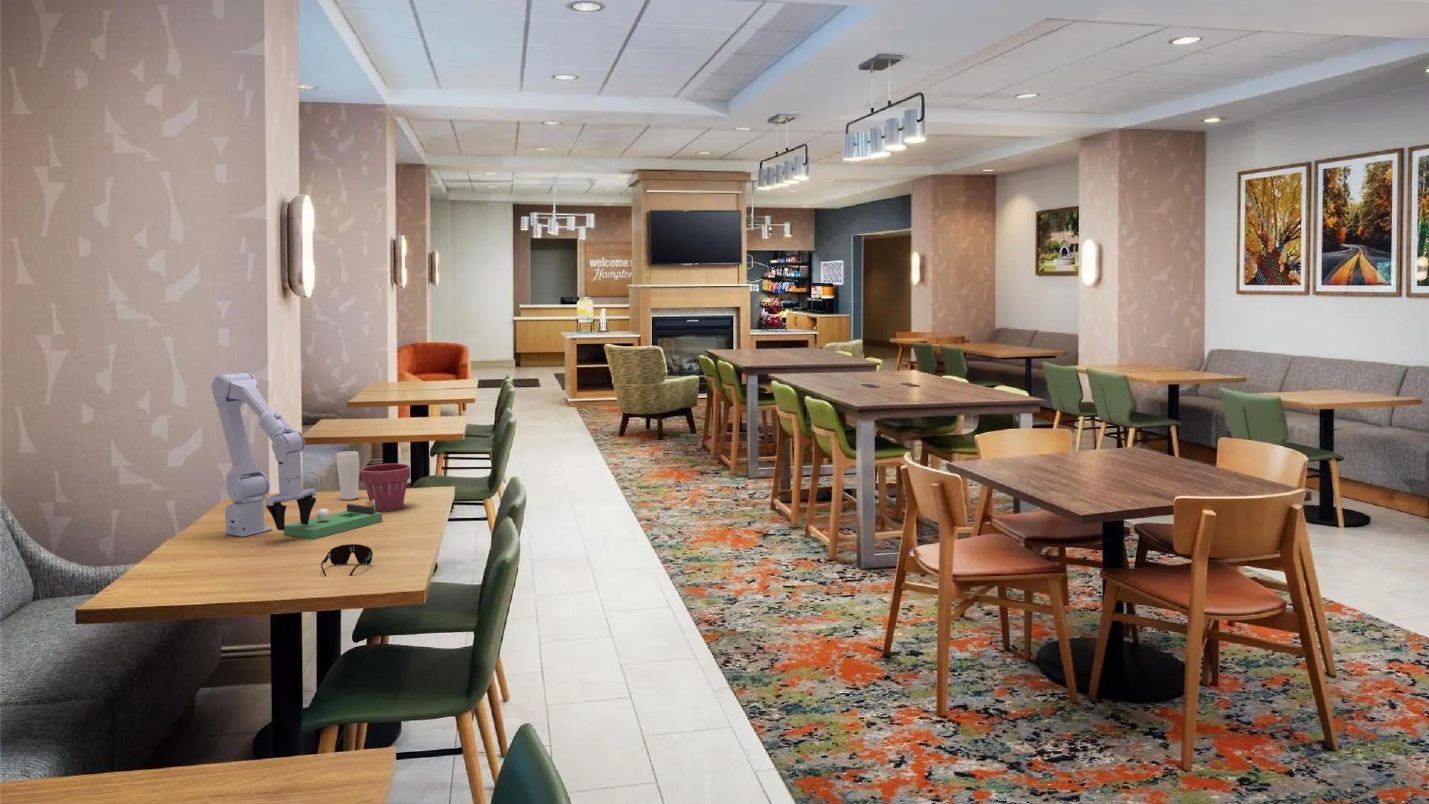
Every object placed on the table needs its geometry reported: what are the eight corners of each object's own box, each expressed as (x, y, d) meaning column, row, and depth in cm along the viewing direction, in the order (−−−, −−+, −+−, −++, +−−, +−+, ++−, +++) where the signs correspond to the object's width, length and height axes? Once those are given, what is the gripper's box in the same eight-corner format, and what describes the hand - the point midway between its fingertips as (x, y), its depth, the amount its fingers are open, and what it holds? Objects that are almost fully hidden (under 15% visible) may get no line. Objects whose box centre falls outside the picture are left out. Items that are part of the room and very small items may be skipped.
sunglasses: (375, 562, 252) (374, 543, 251) (361, 582, 241) (359, 562, 240) (332, 563, 252) (330, 544, 251) (315, 583, 240) (313, 563, 239)
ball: (322, 523, 284) (322, 510, 284) (313, 522, 286) (313, 509, 286) (333, 520, 288) (332, 508, 287) (324, 519, 289) (323, 507, 289)
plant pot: (361, 514, 308) (359, 472, 306) (363, 505, 321) (362, 464, 320) (411, 511, 311) (409, 469, 310) (411, 502, 325) (410, 462, 323)
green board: (313, 539, 277) (312, 515, 276) (283, 534, 283) (282, 511, 282) (382, 521, 298) (381, 499, 297) (353, 517, 304) (352, 495, 303)
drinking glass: (364, 497, 334) (362, 451, 333) (355, 501, 328) (353, 454, 326) (344, 496, 335) (342, 451, 333) (334, 501, 328) (332, 454, 327)
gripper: (276, 482, 268) (279, 534, 270) (322, 474, 281) (325, 523, 282) (258, 480, 272) (261, 531, 273) (305, 472, 284) (307, 520, 286)
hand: (292, 527), depth 278 cm, fingers open, 7 cm apart
